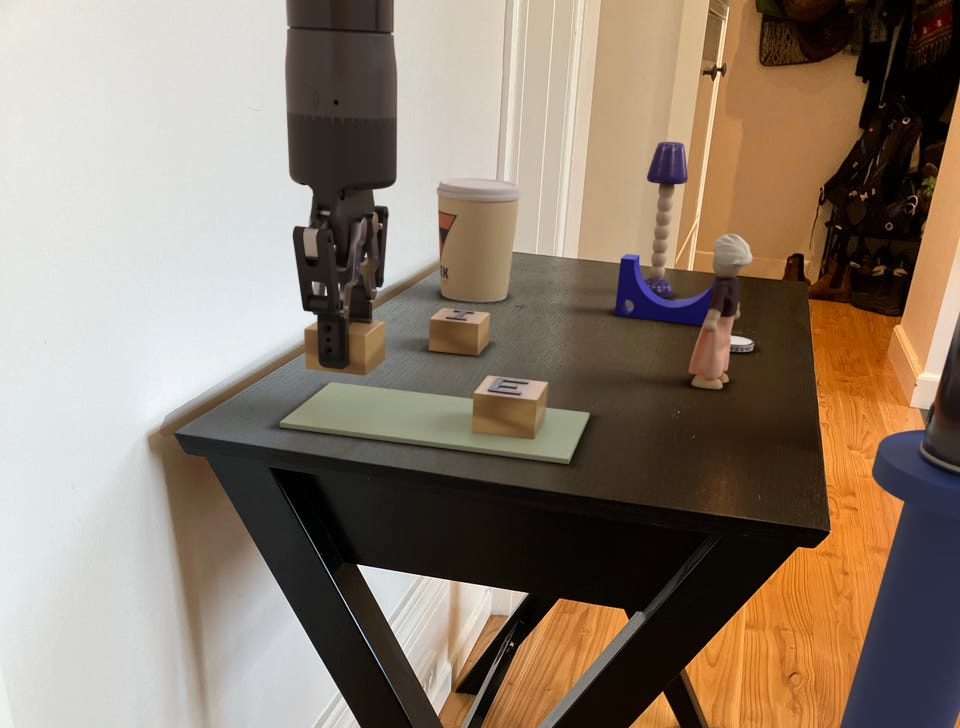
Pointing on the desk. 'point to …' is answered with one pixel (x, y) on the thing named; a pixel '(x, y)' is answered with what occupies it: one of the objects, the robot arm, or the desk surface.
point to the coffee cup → (476, 237)
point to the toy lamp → (664, 208)
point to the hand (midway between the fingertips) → (346, 356)
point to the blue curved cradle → (655, 298)
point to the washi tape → (741, 344)
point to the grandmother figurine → (720, 313)
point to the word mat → (429, 422)
